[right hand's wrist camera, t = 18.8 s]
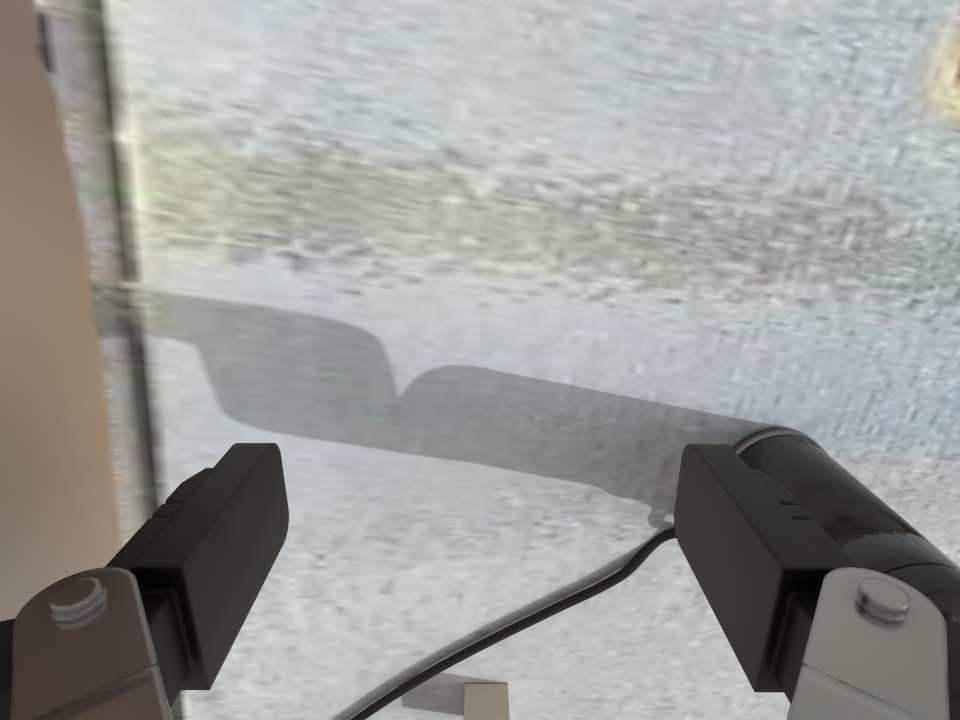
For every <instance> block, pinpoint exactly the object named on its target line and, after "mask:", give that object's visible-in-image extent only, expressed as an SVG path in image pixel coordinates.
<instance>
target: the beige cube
mask: <svg viewBox="0 0 960 720" xmlns="http://www.w3.org/2000/svg"><path fill="white" fill-rule="evenodd" d="M464 720H510V711H509V692H508V684H465V688H464Z"/></svg>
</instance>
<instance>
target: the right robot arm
mask: <svg viewBox="0 0 960 720" xmlns="http://www.w3.org/2000/svg"><path fill="white" fill-rule="evenodd" d="M288 523H289V510H288V502H287V495H286V488H285V481H284V474H283V467H282V459H281V453H280V450H279V447H278V446H277V444H275V443H236V444H234V445H233V446H232V447H231V448H230V449H229V450H228V451H227V453H226V454H225V455H224V456H223V457H222V459H221V460H220V461H219V462H218V463H217V464H216V466H215V467H214V468H205V469H204V470H202V471H200V472H199V473H197V474H196V475H194V476H192V477H191V478H189V479H187V480H186V481H184V482H182V483H181V484H180V485H179V486H178V487H177V489H176V490H175V491H174V492H173V493H172V494H171V495H170V496H169V497H168V498H167V500H166V503H165V504H162V505H161V506H160V507H159V508H158V509H157V511H156V512H155V513H154V514H153V515H152V519H148V520H147V522H146V523H145V524H144V525H143V526H142V527H141V528H140V529H139V530H138V531H137V532H136V534H135V535H134V536H133V537H132V538H131V539H130V540H129V541H128V542H127V543H126V545H125V546H124V547H123V548H122V549H121V550H120V551H119V552H118V553H117V554H116V556H115V557H114V558H113V559H112V560H111V561H110V562H109V563H108V564H107V565H106V566H105V567H104V568H96V569H91V570H87V571H83V572H80V573H77V574H74V575H71V576H69V577H66V578H64V579H62V580H60V581H58V582H56V583H54V584H52V585H50V586H49V587H47V588H45V589H44V590H42V591H41V592H39V593H38V594H37V595H36V596H34V597H33V598H32V599H31V600H30V601H28V603H27V604H26V605H25V606H24V607H23V608H22V609H21V611H20V612H19V613H18V615H17V617H16V618H15V619H11V620H6V621H1V622H0V720H173V716H172V712H171V709H170V708H171V706H172V705H173V703H174V701H175V699H176V697H177V696H178V694H179V692H180V690H210V688H211V686H212V684H213V682H214V680H215V678H216V676H217V675H218V673H219V671H220V669H221V667H222V665H223V663H224V661H225V659H226V657H227V655H228V653H229V651H230V649H231V647H232V645H233V643H234V641H235V639H236V637H237V635H238V633H239V631H240V629H241V627H242V625H243V623H244V621H245V619H246V617H247V615H248V613H249V611H250V609H251V607H252V605H253V603H254V601H255V599H256V597H257V595H258V593H259V591H260V590H261V588H262V586H263V584H264V582H265V580H266V578H267V576H268V574H269V572H270V570H271V568H272V566H273V564H274V562H275V560H276V558H277V556H278V554H279V552H280V550H281V548H282V546H283V544H284V542H285V539H286V535H287V531H288ZM674 525H675V528H673V529H668V530H666V531H664V532H662V533H660V534H659V535H657V536H656V537H654V538H653V539H652V540H651V541H649V542H648V543H647V544H646V545H645V546H644V547H643V548H642V549H641V550H640V551H639V552H638V553H637V554H636V556H635V557H634V558H633V559H632V560H631V561H630V562H629V563H628V564H627V565H626V566H625V567H623V568H622V569H621V570H619V571H618V572H617V573H615V574H613V575H612V576H610V577H608V578H606V579H604V580H603V581H601V582H599V583H597V584H595V585H593V586H591V587H589V588H587V589H585V590H583V591H580V592H578V593H576V594H574V595H572V596H570V597H567V598H565V599H563V600H561V601H559V602H557V603H555V604H553V605H551V606H549V607H547V608H545V609H543V610H541V611H539V612H536V613H534V614H532V615H530V616H528V617H526V618H524V619H522V620H520V621H518V622H516V623H514V624H512V625H510V626H508V627H506V628H504V629H502V630H500V631H498V632H496V633H494V634H492V635H490V636H488V637H486V638H484V639H482V640H480V641H478V642H476V643H474V644H473V645H471V646H469V647H467V648H465V649H463V650H461V651H459V652H457V653H455V654H454V655H452V656H450V657H448V658H446V659H445V660H443V661H441V662H439V663H437V664H436V665H434V666H432V667H430V668H429V669H427V670H425V671H424V672H422V673H420V674H419V675H417V676H415V677H414V678H412V679H410V680H409V681H407V682H405V683H404V684H402V685H401V686H399V687H397V688H396V689H394V690H393V691H391V692H390V693H388V694H387V695H385V696H384V697H382V698H381V699H379V700H378V701H376V702H375V703H373V704H372V705H370V706H369V707H367V708H366V709H364V710H363V711H361V712H360V713H359V714H357V715H356V716H354V717H353V718H352V719H350V720H365V719H367V718H368V717H370V716H371V715H372V714H374V713H375V712H377V711H378V710H380V709H381V708H383V707H384V706H386V705H388V704H389V703H391V702H392V701H394V700H395V699H397V698H398V697H400V696H402V695H403V694H405V693H406V692H408V691H410V690H411V689H413V688H414V687H416V686H418V685H420V684H421V683H423V682H425V681H426V680H428V679H430V678H432V677H433V676H435V675H437V674H438V673H440V672H442V671H444V670H446V669H447V668H449V667H451V666H453V665H455V664H457V663H458V662H460V661H462V660H464V659H466V658H468V657H470V656H472V655H474V654H476V653H478V652H479V651H481V650H483V649H485V648H487V647H489V646H491V645H493V644H495V643H497V642H499V641H501V640H503V639H505V638H507V637H509V636H511V635H513V634H515V633H517V632H519V631H521V630H523V629H526V628H528V627H530V626H532V625H534V624H536V623H538V622H540V621H542V620H544V619H546V618H548V617H550V616H552V615H554V614H556V613H559V612H561V611H563V610H565V609H567V608H569V607H571V606H573V605H576V604H578V603H580V602H582V601H584V600H586V599H589V598H591V597H593V596H595V595H597V594H599V593H601V592H603V591H605V590H607V589H609V588H610V587H612V586H614V585H616V584H618V583H619V582H621V581H622V580H624V579H625V578H627V577H628V576H629V575H631V574H632V573H633V572H634V571H635V570H636V569H637V568H638V567H639V566H640V565H641V564H642V563H643V562H644V560H645V559H646V558H647V557H648V556H649V555H650V554H651V553H652V552H653V551H654V550H655V549H656V548H657V547H658V546H659V545H660V544H662V543H663V542H665V541H667V540H669V539H673V538H677V540H678V543H679V545H680V547H681V549H682V551H683V553H684V555H685V557H686V559H687V561H688V563H689V565H690V567H691V569H692V571H693V573H694V574H695V576H696V578H697V580H698V582H699V584H700V586H701V588H702V590H703V592H704V594H705V596H706V598H707V600H708V602H709V604H710V606H711V608H712V610H713V612H714V614H715V616H716V617H717V619H718V621H719V623H720V625H721V627H722V629H723V631H724V633H725V635H726V637H727V639H728V641H729V643H730V645H731V647H732V649H733V651H734V653H735V655H736V657H737V658H738V660H739V662H740V664H741V666H742V668H743V670H744V672H745V674H746V676H747V678H748V680H749V682H750V684H751V686H752V688H753V690H754V692H784V693H785V695H786V696H787V698H788V700H789V702H790V703H791V705H790V709H789V712H788V716H787V720H960V567H958V566H957V565H956V564H955V563H954V562H953V561H951V560H950V559H949V558H948V557H947V556H946V555H944V554H943V553H942V552H941V551H940V550H939V549H938V548H936V547H935V546H934V545H933V544H931V543H930V542H929V541H928V540H927V539H926V538H925V537H923V536H922V535H921V534H920V533H919V532H918V531H917V530H915V529H914V528H913V527H912V526H911V525H910V524H908V523H907V522H906V521H905V520H904V519H903V518H901V517H900V516H899V515H898V514H897V513H896V512H894V511H893V510H892V509H891V508H890V507H889V506H887V505H886V504H885V503H884V502H883V501H882V500H880V499H879V498H878V497H877V496H876V495H875V494H873V493H872V492H871V491H870V490H869V489H868V488H866V487H865V486H864V485H863V484H862V483H861V482H859V481H858V480H857V479H856V478H855V477H854V476H852V475H851V474H850V473H849V472H848V471H847V470H845V469H844V468H843V467H842V466H841V465H840V464H838V463H837V462H836V461H835V460H834V459H833V458H831V457H830V456H829V455H828V454H827V453H826V452H825V451H824V450H823V449H822V448H821V447H820V446H819V445H818V444H817V443H816V442H815V441H813V440H812V439H811V438H810V437H808V436H807V435H805V434H803V433H801V432H799V431H796V430H792V429H785V428H777V429H768V430H764V431H761V432H758V433H755V434H753V435H751V436H749V437H747V438H745V439H744V440H742V441H741V442H740V443H738V444H737V445H736V446H735V447H734V448H732V447H731V446H730V445H728V444H688V445H686V447H685V448H684V451H683V455H682V461H681V468H680V475H679V482H678V489H677V496H676V503H675V510H674Z"/></svg>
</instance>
